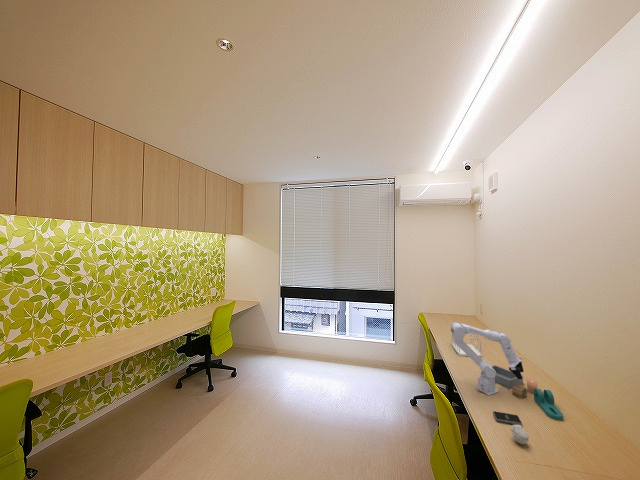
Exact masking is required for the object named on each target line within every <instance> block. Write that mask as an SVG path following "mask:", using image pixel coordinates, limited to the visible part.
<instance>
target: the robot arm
mask: <svg viewBox="0 0 640 480" xmlns="http://www.w3.org/2000/svg"><path fill="white" fill-rule="evenodd" d="M450 332H451V337H453V340H454V342H453V343H456V344H457V345H458V346H459V347H460V348H461V349H462V350H463V351H464V352H465V353H466V354H467V355H468V356H467V357H469V358H470V359H471V360H472V361H473V363H475V364H476V365H477V366H478V368H479V369H480V370H481V372H480V376H479V377H478V378H477V387H476V390H477V391H480V392H481V393H484V394H486V395H487V396H492V395H494V394H496V393H497V394H498V392H500V390H498V389H496V382H495V376H496V371H495V370H494V369H493V368H492V367H491V366H492V365H491V364H490V363H489V362H488V361H486V360H484V359H483V358H482V357H479V356H478V355H477V354H476V353H475V352H474V351H473V350H472V349H471V348H470V347H469V346H468V345H467V344H468V343H466V342H465V340H464V338H463V337H465V336H464V335H469V333H470V332H471V333H474V334H475V335H477V336H478V335H480V336H483V338H484V339H485V340H489V341H491V342H495V343H499V345H500V347H501V350H502V351H503V354H504V356H505V358H506V359H507V362H508V365H509V367H508V370H509V371H511V372H512V373H513V374H514V375H515V376H516V377H517V378H518V379H522V376H523V375H522V373H524V367H523V359H522V358H520V357H519V356H518V354H517V352H516V350H515V349H514V347H513V345H512V343H511V342H512V340H511V338H510V337H509V336H507V335H506V334H504V333H502V332H500V331H498V332H497V331H494V330H493V329H491V328H489V329H487V328H486V329H481V328H478V327H475V326H472V325H468V324H465V323H460V322H456V321H455V322H452V323H451V326H450ZM474 334H473V335H474Z"/></svg>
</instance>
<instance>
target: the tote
mask: <svg viewBox="0 0 640 480" xmlns="http://www.w3.org/2000/svg"><path fill="white" fill-rule="evenodd" d="M490 366H491V367H492V368H493V369H494V370H495V371H496V376H495V384H498V385H501V386H503V387H505V388H507V389H511V390H512V386H515V385H519V386H522V385H523V384H524V376H523V375H522V379H518V378H517V377H516V376H515V375H514V374H513V373H512V372H511V371H510V370H509V369H506V368H503V367H502V366H501V367H500V366H498V365H496V364H494V365H490Z"/></svg>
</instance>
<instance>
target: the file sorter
mask: <svg viewBox="0 0 640 480" xmlns="http://www.w3.org/2000/svg"><path fill="white" fill-rule="evenodd" d="M464 338H465V339H470V344H469V343H466V344H467V345H468V346H469V347H470V348H471V349H472V350H473V351H474V352H475V353H476V354H477V355H478V356H479V357H480V358H483V354H482V341H481V339H480V338H479V337H478V335H477V334H474V333H471V332H470V333H468V334H465V335H464V337H463V339H464ZM450 345H451V347H452V346H453V347H452V348H453V350H454V349H455V350H454V351H455V352H456V354H457V353H458V354H457V356H459V357H461V356H462V357H469V356H468V355H467V354H466V353H465V352H464V351H463V350H462V349H461V348H460V347H459V346H458V345H457V344H456V343H455V342H454V340H453V336H451V344H450ZM479 349H480V350H479Z"/></svg>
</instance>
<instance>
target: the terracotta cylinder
mask: <svg viewBox="0 0 640 480" xmlns="http://www.w3.org/2000/svg"><path fill="white" fill-rule="evenodd" d="M538 385H539V384H538V381H537V380H536V379H534V378H530V377H529V378H527V379H526V388H527V393H528V394H530V395H534V389H539V387H538Z"/></svg>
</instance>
